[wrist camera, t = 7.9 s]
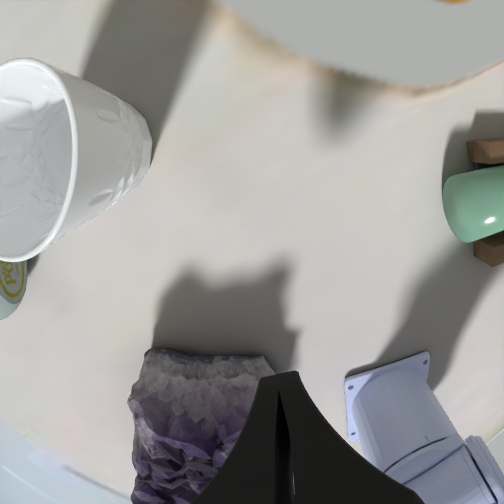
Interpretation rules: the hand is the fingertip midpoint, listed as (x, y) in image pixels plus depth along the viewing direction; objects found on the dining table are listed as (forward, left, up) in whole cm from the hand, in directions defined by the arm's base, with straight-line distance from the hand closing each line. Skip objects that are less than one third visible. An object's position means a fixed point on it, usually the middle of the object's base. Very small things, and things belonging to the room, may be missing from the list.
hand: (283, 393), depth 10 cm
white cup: (+11, +8, -11) cm, 17 cm away
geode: (-12, +9, -11) cm, 19 cm away
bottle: (+3, -13, -8) cm, 16 cm away
